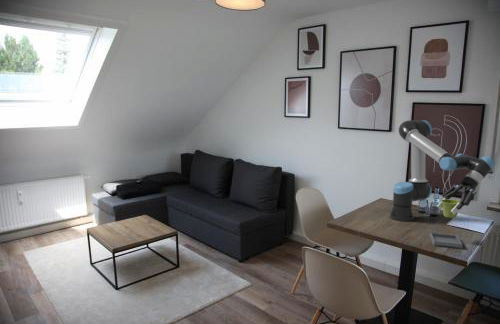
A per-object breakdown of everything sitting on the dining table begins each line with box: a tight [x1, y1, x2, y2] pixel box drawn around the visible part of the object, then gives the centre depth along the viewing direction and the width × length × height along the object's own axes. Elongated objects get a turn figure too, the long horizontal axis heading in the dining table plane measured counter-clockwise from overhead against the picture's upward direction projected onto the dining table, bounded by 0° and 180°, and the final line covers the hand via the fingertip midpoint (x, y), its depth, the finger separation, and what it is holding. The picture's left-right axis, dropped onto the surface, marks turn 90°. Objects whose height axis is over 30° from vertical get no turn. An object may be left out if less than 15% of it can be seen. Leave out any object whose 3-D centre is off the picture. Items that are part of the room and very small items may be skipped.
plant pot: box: [440, 198, 460, 219], centre depth 190 cm, size 9×9×9 cm
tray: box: [429, 232, 463, 250], centre depth 188 cm, size 13×13×3 cm
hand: (445, 210), depth 190 cm, fingers closed on plant pot, 9 cm apart
